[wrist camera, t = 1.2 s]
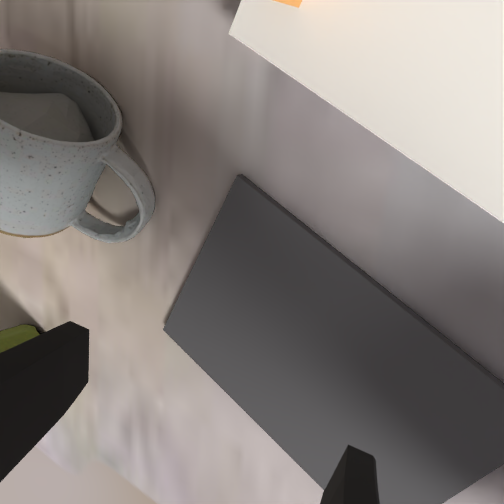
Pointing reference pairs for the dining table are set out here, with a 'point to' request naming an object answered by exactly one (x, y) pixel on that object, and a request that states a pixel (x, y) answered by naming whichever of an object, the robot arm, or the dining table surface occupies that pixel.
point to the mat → (334, 357)
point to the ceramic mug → (60, 150)
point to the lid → (401, 76)
